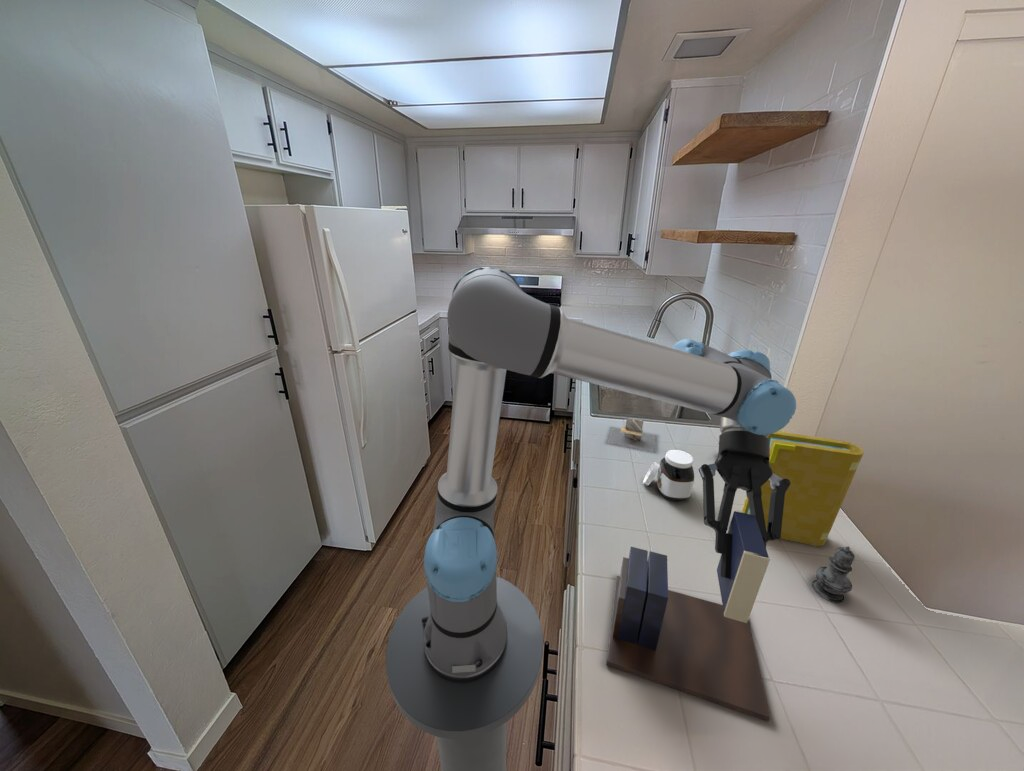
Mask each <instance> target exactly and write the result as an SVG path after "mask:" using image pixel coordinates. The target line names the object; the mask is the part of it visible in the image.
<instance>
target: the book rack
mask: <svg viewBox="0 0 1024 771" xmlns="http://www.w3.org/2000/svg"><path fill="white" fill-rule="evenodd" d="M620 567H621V569H620V575H616V578H615V586H614V594H613V595H614V596H613V603H612V611H611V620H610V629H609V638H608V644H607V645H608V646H607V652H606V653H607V654H606V663H605V665H606V666H609V667H612V668H615V669H617V670H620V671H623V672H625V673H628V674H632V675H633V676H634V675H635V676H637V677H640V678H643V679H646V680H648V681H652V682H655V683H657V684H660V685H663V686H667V687H669V688H672V689H675V690H677V691H680V692H683V693H686V694H689V695H692V696H695V697H697V698H701V699H704V700H707V701H709V702H712V703H714V704H718V705H720V706H724V707H725V708H730V709H732V710H735V711H738V712H741V713H744V714H746V715H749V716H751V717H756V718H758V719H761V720H763V721H766V722H769V721H770V719H771V714H770V711H769V706H768V705H769V704H768V701H767V697H766V693H765V692H766V691H765V689H764V688H765V687H764V684H763V679H762V675H761V670H760V666H759V662H758V657H757V653H756V649H755V648H756V647H755V645H754V639H753V636H752V631H751V627H750V622H749V621H748V622H747V623H744V622H741V621H737V620H734V619H730V618H727V617H724V610H723V604H722V603H721V604H720V603H716V602H713V601H709V600H706V599H703V598H699V597H695V596H692V595H689V594H685V593H684V594H683V593H681V592H678V591H677V592H676V591H674V590H669V574H668V572H669V571H668V555H667V554H662V553H659V552H655V551H649V550H647V549H643V548H640V547H639V548H638V547H634V546H630V547H629V554H628V557H622V562H621V566H620Z"/></svg>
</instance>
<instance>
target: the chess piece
mask: <svg viewBox="0 0 1024 771" xmlns="http://www.w3.org/2000/svg"><path fill="white" fill-rule="evenodd" d="M855 558H856V556H855V553H854V552H853V551H852V550H851V548H850V546H845V547H844V546H838V547H837V548H836V549H835V550H834V553H833V555H832V556H830V557H829V558H828V564H827V566H822V565H821V566H818V567H816V568H815V571H814V572H815V578H816V579H814V580H812V581H811V582H812V583H811V587H812V589H813V590H814V591H815V593H816V594H817V595H819V596H820V597H821V598H822V599H824V600H826V601H829V602H830V603H836V604H840V603H843V602H844V601H845V599H846V598H845V594H847V593H848V592H851V591H852V590H853V588H854V587H853V583H852V581H851V580H850V578H849V577H848V574H849V573H851V572H852V571H853V568H852V565H853V563H854V560H855Z"/></svg>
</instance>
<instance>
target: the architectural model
mask: <svg viewBox="0 0 1024 771" xmlns="http://www.w3.org/2000/svg"><path fill="white" fill-rule="evenodd" d="M643 428H644V420H642V419H636V418H630V417H626V421H625V427H623V426H622V427H621V429H618V428H614V427H612V428H611V431H610V435H609V439H608V442H607V444H609V445H613V446H619V447H623V448H629V449H630V448H631V449H634V450H640V451H645V452H650V453H655V452H656V442H657V436H656V435H654V434H647V433H643V431H644V430H643Z"/></svg>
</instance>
